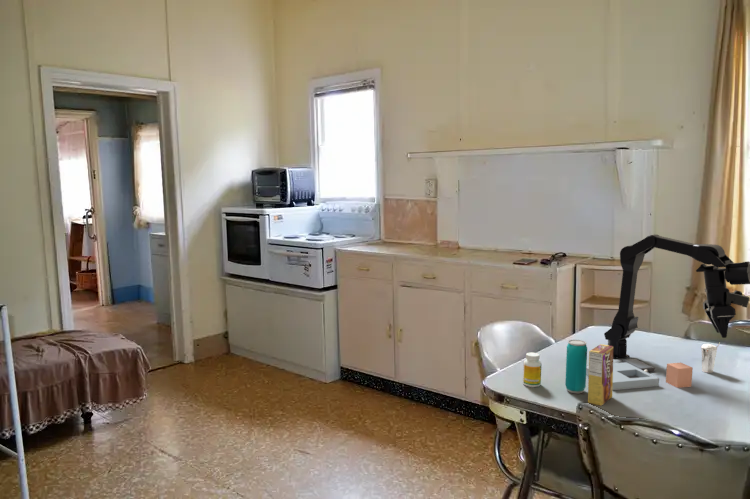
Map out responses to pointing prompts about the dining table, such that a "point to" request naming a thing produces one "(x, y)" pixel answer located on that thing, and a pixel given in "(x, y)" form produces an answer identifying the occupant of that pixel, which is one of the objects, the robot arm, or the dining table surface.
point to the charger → (679, 375)
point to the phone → (639, 364)
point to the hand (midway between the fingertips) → (721, 335)
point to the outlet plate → (630, 377)
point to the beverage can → (576, 366)
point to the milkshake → (708, 357)
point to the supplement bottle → (532, 370)
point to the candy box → (600, 374)
